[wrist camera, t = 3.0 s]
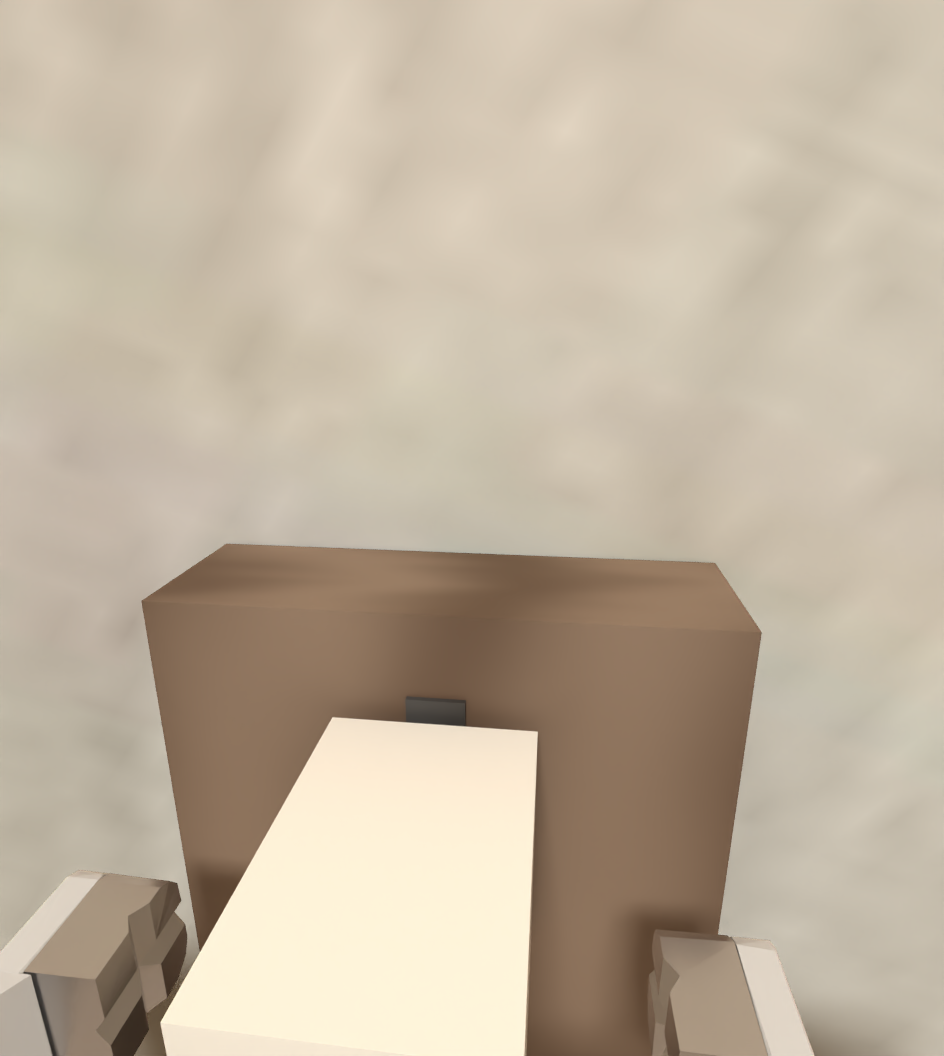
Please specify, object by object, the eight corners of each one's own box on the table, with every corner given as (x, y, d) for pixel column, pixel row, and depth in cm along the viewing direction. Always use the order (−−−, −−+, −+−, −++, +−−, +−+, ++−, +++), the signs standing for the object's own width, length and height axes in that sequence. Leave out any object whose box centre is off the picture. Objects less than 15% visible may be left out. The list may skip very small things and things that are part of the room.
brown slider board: (714, 562, 13) (765, 638, 10) (638, 1218, 19) (654, 1392, 16) (226, 544, 14) (133, 606, 11) (301, 1166, 20) (256, 1319, 17)
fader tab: (543, 732, 10) (533, 1125, 5) (536, 941, 12) (522, 1417, 7) (326, 716, 11) (123, 1067, 6) (342, 920, 12) (188, 1355, 7)
